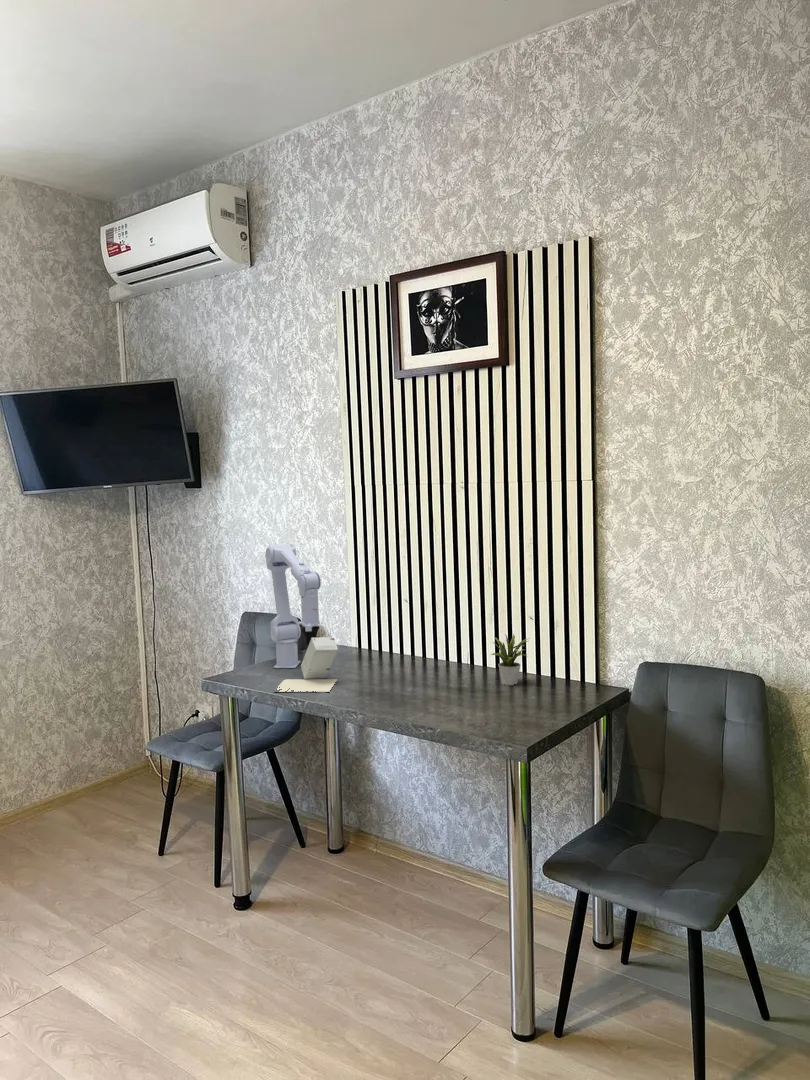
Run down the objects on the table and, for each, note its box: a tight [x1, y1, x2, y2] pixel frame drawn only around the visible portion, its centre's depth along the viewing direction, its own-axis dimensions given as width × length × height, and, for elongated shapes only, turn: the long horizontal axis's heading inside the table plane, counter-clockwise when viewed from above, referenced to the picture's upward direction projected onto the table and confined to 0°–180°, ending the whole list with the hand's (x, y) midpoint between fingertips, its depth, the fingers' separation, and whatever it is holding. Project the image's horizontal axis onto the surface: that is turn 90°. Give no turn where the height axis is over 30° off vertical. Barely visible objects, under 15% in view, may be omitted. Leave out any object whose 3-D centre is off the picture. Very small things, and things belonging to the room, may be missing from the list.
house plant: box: [490, 633, 530, 686], centre depth 257 cm, size 14×14×16 cm
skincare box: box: [300, 636, 339, 679], centre depth 267 cm, size 8×6×15 cm
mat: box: [276, 678, 338, 693], centre depth 260 cm, size 15×18×1 cm
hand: (311, 648), depth 270 cm, fingers closed
